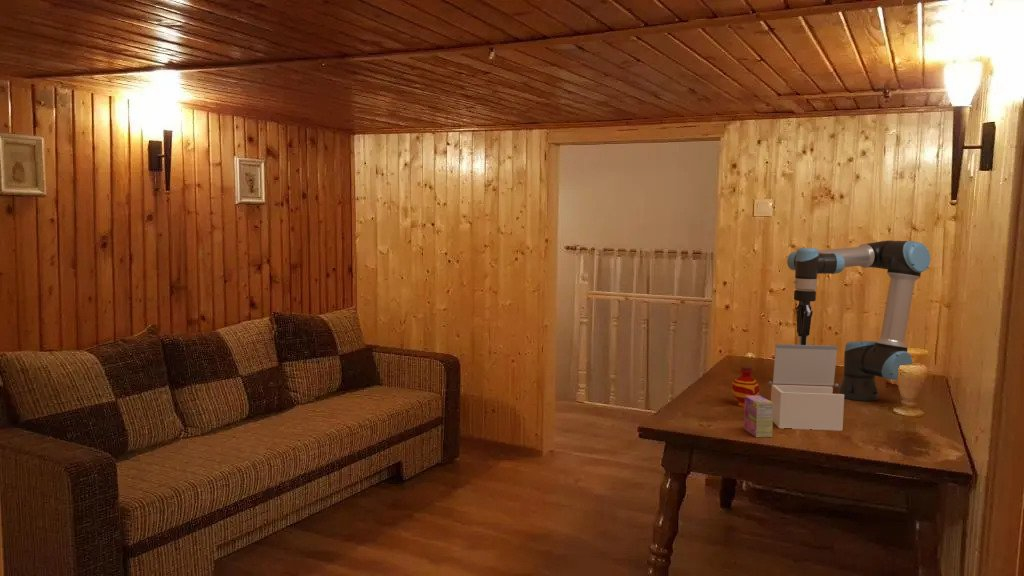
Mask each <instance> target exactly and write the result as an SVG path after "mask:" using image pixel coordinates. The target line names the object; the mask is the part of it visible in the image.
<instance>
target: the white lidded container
mask: <svg viewBox="0 0 1024 576" xmlns="http://www.w3.org/2000/svg"><path fill="white" fill-rule="evenodd" d="M767 385H770V386H771V393H770V401H771V402H773V424H775V425H776V427H777V428H779V429H784V428H792V430H810V429H812V431H813V430H814V431H815V430H816V431H817V430H818V431H840V432H841V431H842V432H843V428H844V427H843V425H844V408H845V407H844V406H845V398H844V394H838V393H833V391H834V388H839V387H840V384H839V383H834V386H829V385H800V384H773V380H771V381H769V380H768V381H767Z"/></svg>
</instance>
